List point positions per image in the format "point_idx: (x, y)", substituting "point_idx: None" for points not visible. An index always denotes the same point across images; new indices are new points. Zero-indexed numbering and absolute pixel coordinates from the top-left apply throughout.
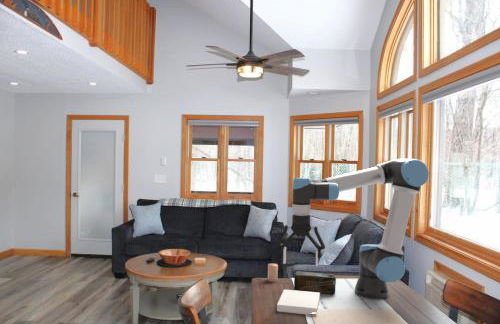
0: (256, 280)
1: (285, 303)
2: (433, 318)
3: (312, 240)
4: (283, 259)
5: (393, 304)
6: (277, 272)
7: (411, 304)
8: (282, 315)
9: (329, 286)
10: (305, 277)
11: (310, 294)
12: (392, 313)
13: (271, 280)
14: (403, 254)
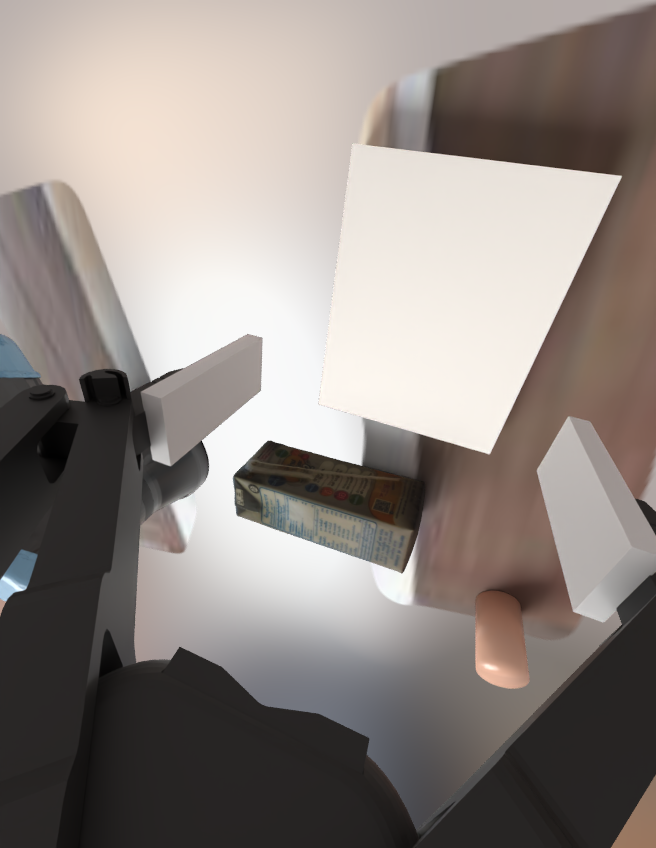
0: (577, 620)
1: (545, 211)
2: None
3: (81, 507)
4: (602, 448)
5: (93, 343)
6: (478, 628)
7: (51, 345)
8: (583, 113)
9: (275, 460)
10: (365, 508)
11: (363, 379)
12: (81, 248)
13: (507, 598)
14: None
